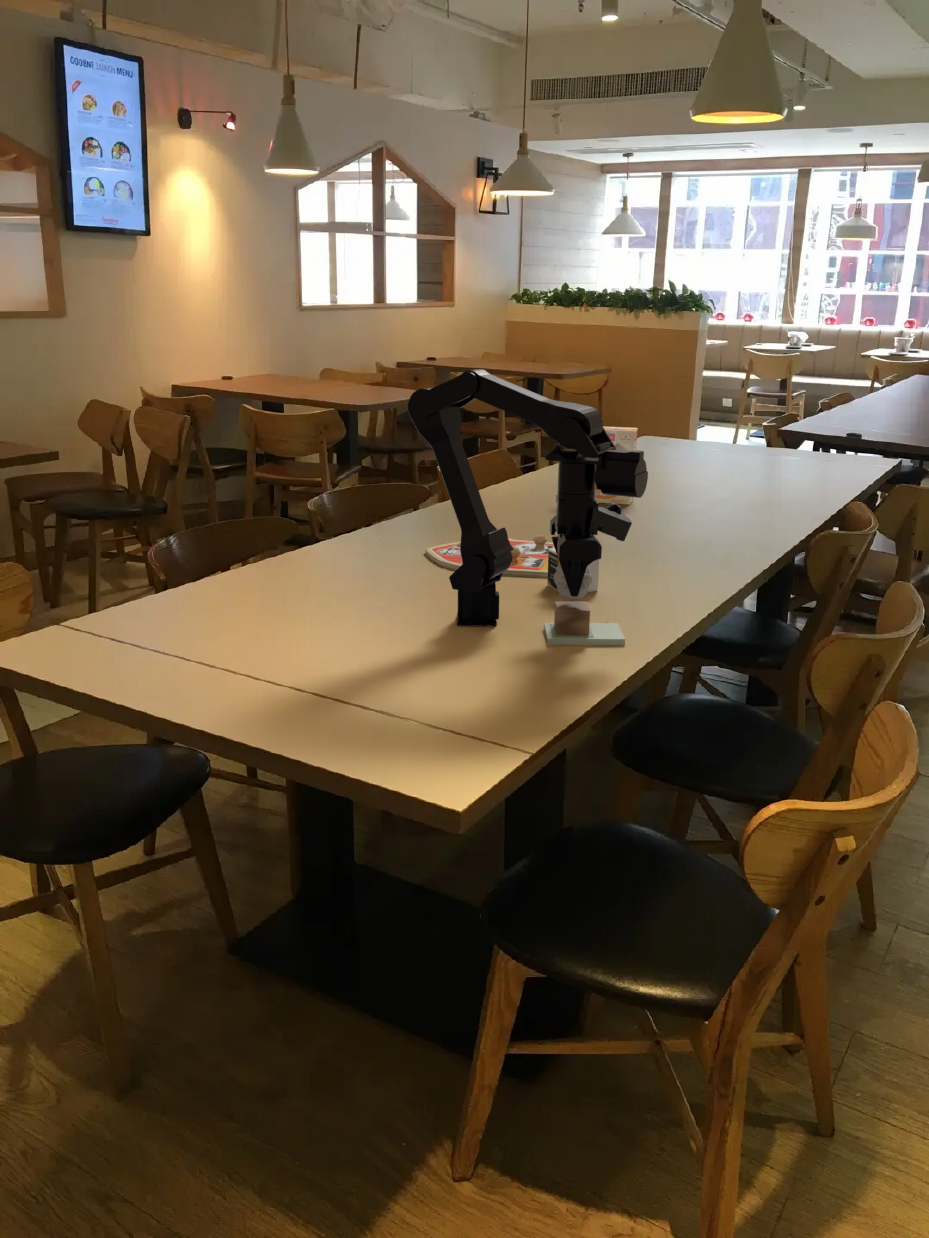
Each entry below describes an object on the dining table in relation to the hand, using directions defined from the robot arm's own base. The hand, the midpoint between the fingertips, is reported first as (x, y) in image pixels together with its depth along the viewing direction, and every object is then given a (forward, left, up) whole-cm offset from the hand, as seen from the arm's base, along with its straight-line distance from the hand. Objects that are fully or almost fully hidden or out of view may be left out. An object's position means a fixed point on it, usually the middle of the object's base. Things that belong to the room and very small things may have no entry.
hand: (572, 589), depth 155 cm
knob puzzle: (-11, +51, -9) cm, 53 cm away
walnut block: (0, 0, -7) cm, 7 cm away
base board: (+2, 0, -8) cm, 8 cm away
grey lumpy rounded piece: (0, 0, -2) cm, 2 cm away
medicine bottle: (+3, +28, -8) cm, 29 cm away
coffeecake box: (+20, +113, -8) cm, 115 cm away
